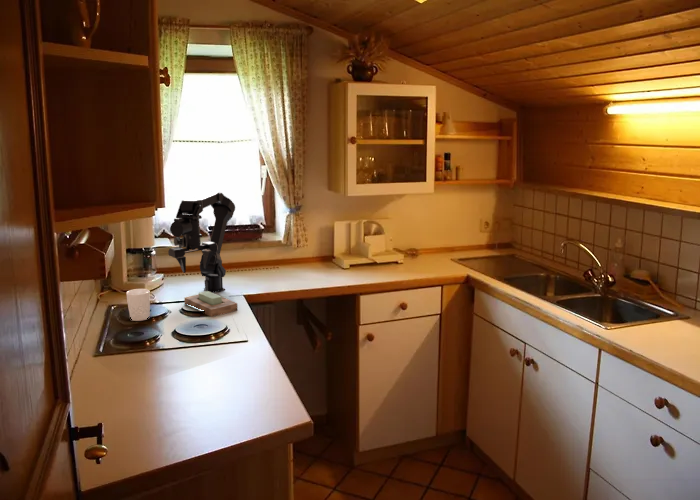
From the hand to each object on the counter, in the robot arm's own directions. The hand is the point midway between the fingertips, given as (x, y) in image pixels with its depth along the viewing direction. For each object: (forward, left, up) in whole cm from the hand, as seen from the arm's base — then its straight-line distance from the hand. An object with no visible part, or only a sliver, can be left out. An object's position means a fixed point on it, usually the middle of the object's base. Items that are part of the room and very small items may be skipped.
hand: (194, 270), depth 237 cm
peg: (+1, +13, -11) cm, 17 cm away
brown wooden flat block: (+1, +13, -12) cm, 17 cm away
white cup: (+26, +6, -12) cm, 29 cm away
